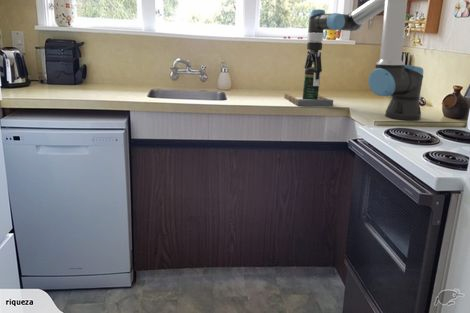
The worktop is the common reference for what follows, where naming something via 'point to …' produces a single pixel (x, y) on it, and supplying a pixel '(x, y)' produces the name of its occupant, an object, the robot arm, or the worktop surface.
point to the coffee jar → (310, 85)
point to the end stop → (314, 102)
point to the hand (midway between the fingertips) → (311, 84)
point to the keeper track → (293, 99)
